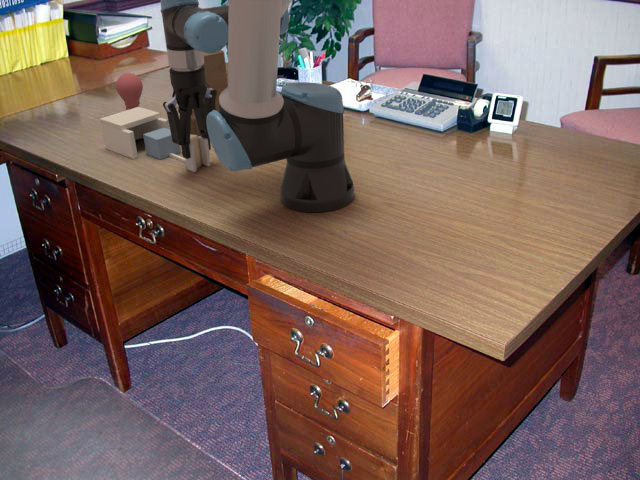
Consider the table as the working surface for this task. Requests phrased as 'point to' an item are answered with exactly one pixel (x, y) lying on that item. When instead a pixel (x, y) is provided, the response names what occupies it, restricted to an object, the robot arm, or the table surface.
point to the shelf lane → (129, 129)
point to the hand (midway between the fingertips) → (198, 166)
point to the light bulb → (129, 89)
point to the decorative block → (212, 80)
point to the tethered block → (168, 146)
